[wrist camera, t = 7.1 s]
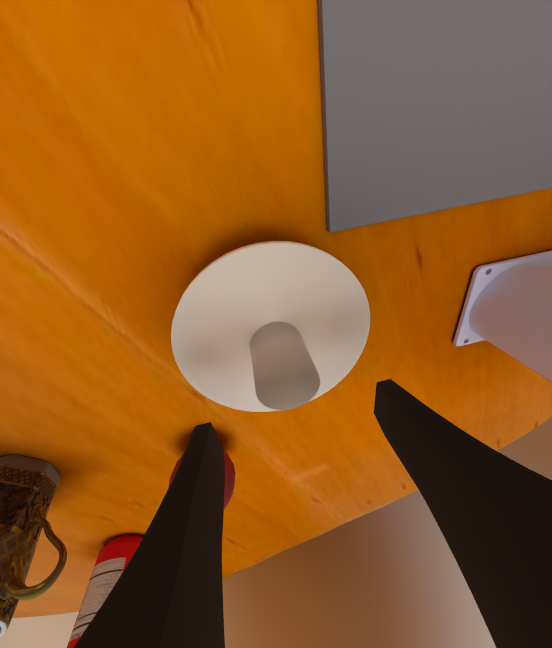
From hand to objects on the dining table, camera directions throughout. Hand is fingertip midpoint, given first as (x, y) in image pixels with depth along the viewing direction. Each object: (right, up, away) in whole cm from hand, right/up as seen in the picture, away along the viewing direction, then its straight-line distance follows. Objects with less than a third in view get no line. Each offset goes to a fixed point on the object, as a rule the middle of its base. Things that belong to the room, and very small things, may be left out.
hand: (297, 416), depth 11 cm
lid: (-1, +3, +5) cm, 6 cm away
